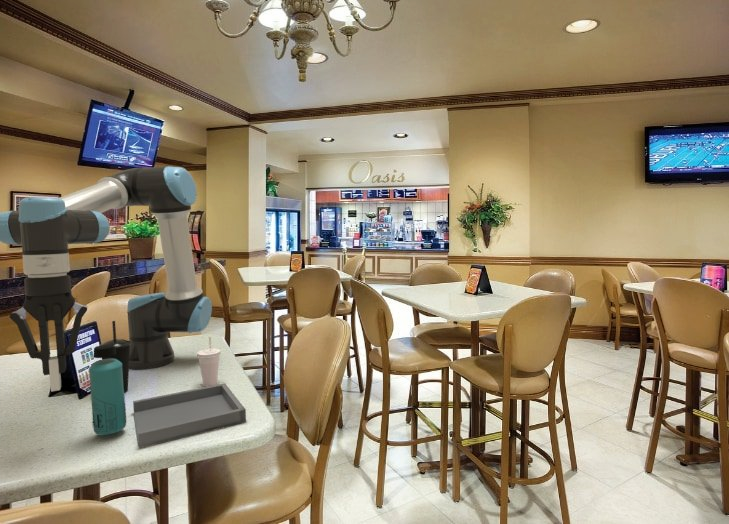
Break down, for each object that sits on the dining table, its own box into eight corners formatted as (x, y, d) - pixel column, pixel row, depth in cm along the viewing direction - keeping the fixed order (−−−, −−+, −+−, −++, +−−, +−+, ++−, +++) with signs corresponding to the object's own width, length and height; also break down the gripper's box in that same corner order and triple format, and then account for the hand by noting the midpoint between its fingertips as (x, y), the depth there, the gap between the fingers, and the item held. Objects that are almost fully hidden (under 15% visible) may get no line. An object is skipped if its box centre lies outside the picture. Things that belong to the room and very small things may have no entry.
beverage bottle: (133, 427, 97) (128, 341, 95) (115, 442, 90) (109, 349, 89) (105, 427, 97) (100, 341, 95) (85, 442, 90) (79, 349, 89)
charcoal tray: (133, 413, 105) (133, 401, 104) (225, 394, 116) (225, 383, 116) (139, 448, 88) (138, 434, 87) (246, 421, 99) (245, 409, 99)
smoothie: (214, 389, 120) (212, 340, 119) (193, 387, 121) (191, 339, 120) (226, 381, 126) (224, 334, 125) (206, 379, 127) (204, 333, 126)
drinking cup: (109, 399, 113) (104, 325, 112) (97, 393, 118) (92, 322, 116) (138, 390, 119) (134, 320, 118) (126, 385, 124) (122, 317, 122)
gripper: (2, 279, 80) (12, 401, 81) (85, 274, 86) (93, 388, 88) (10, 275, 86) (19, 389, 88) (86, 271, 93) (94, 377, 95)
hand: (56, 388), depth 88 cm, fingers closed
